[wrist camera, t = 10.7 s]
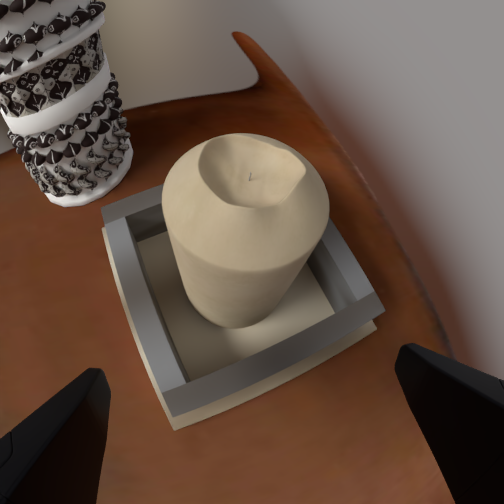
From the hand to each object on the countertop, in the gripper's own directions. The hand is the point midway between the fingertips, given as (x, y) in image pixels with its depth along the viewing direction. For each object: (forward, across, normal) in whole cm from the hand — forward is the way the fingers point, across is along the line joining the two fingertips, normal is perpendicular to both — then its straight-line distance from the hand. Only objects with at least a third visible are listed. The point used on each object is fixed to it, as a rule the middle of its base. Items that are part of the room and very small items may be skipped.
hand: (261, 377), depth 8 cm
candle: (+10, 0, +2) cm, 10 cm away
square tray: (+10, 0, +2) cm, 11 cm away
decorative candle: (+18, +12, -5) cm, 22 cm away
